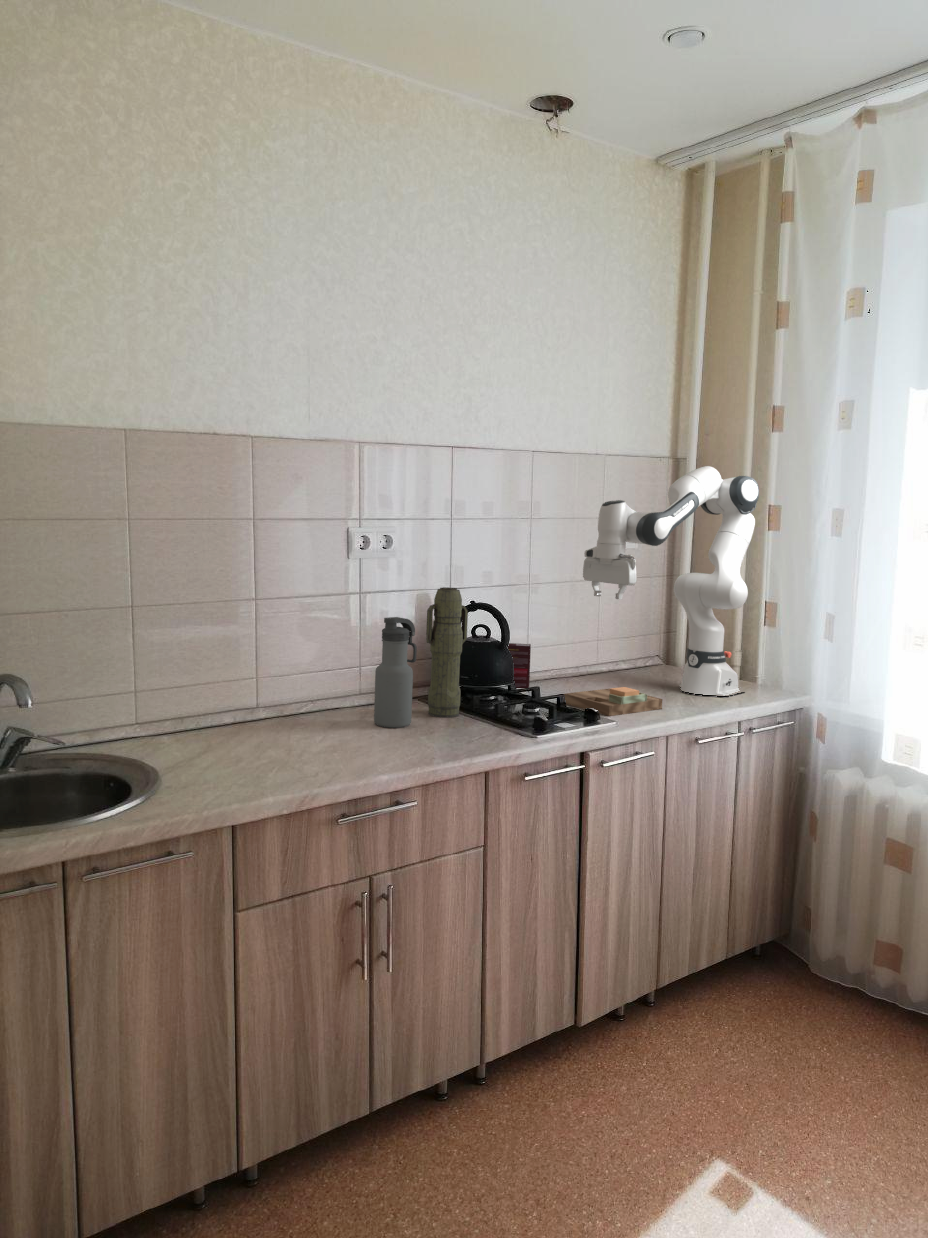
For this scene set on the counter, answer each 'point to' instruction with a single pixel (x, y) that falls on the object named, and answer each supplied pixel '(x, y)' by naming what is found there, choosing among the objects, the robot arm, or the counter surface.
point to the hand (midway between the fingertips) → (608, 597)
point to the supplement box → (521, 663)
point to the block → (623, 691)
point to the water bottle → (394, 675)
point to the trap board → (613, 702)
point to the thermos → (446, 651)
